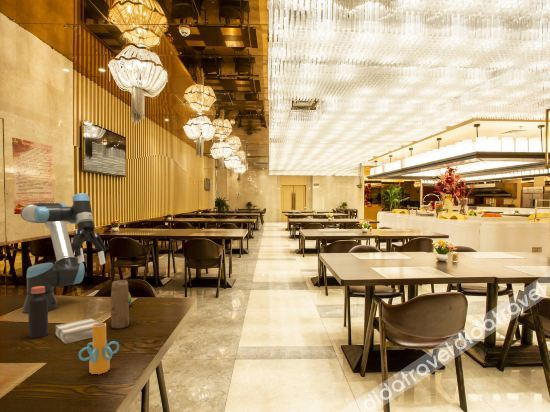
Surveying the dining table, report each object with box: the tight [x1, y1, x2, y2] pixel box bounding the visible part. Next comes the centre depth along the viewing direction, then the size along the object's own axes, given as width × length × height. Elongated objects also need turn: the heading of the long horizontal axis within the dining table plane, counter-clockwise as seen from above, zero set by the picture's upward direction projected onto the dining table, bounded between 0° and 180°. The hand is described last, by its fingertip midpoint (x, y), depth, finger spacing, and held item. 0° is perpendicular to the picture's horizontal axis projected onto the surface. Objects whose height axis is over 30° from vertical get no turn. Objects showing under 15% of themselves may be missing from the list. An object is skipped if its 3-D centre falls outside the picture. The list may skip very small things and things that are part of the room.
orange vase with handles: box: [78, 322, 120, 375], centre depth 120 cm, size 12×10×15 cm
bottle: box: [28, 286, 49, 339], centre depth 153 cm, size 7×7×20 cm
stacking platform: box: [55, 317, 99, 345], centre depth 153 cm, size 14×14×4 cm
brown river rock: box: [110, 279, 130, 329], centre depth 165 cm, size 11×8×20 cm
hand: (92, 263), depth 177 cm, fingers open, 13 cm apart
